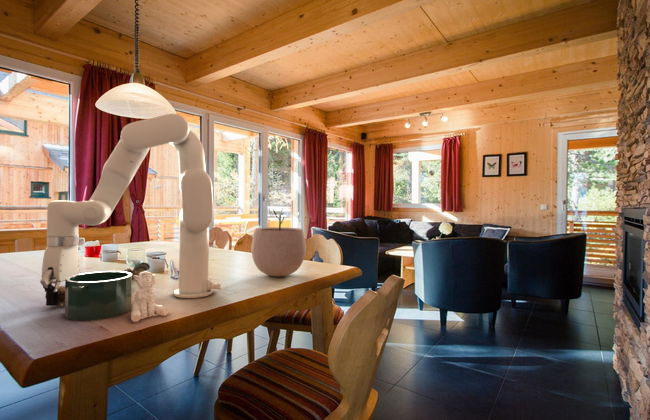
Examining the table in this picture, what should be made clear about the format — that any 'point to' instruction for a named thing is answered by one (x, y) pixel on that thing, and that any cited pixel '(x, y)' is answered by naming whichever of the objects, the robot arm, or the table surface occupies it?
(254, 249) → the plant pot
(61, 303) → the mushroom
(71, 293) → the pot
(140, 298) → the seated beast figurine
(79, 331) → the table surface
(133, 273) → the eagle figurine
